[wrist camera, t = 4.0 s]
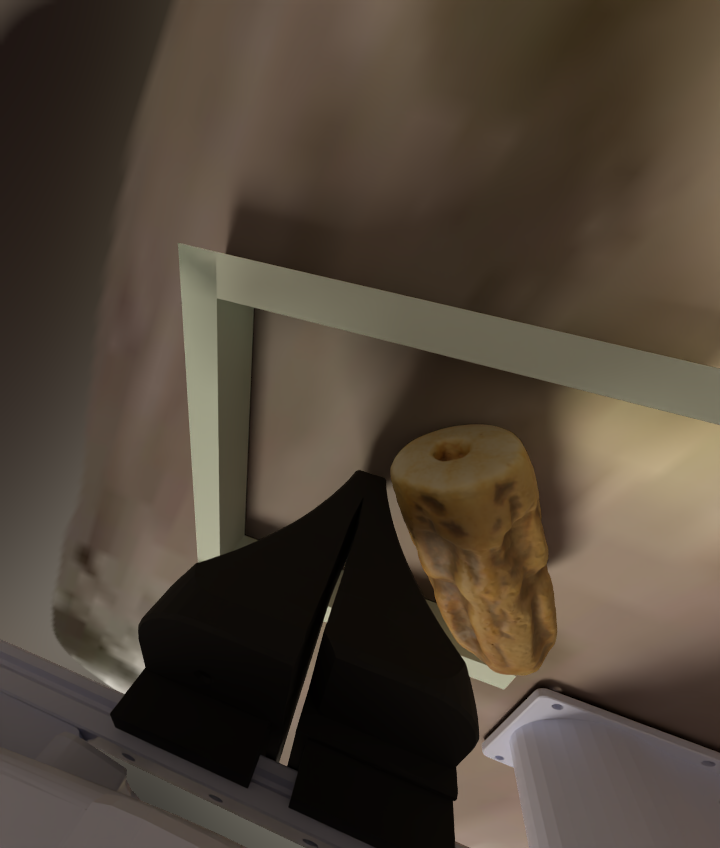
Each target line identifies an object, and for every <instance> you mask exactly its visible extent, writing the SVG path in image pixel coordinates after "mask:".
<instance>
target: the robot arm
mask: <svg viewBox="0 0 720 848" xmlns="http://www.w3.org/2000/svg"><path fill="white" fill-rule="evenodd" d="M346 559H347V560H346ZM345 562H346V565H345V569H344V572H343V575H342V578H341V581H340V584H339V587H338V591H337V594H336V597H335V600H334V603H333V606H332V609H331V612H330V615H329V618H328V621H327V624H326V627H325V630H324V633H323V637H322V641H321V644H320V648H319V652H318V656H317V660H316V664H315V667H314V671H313V675H312V679H311V683H310V686H309V690H308V693H307V696H306V700H305V703H304V706H303V709H302V713H301V716H300V719H299V722H298V726H297V729H296V734H295V738H294V742H293V746H292V750H291V754H290V758H289V762H288V765H287V766H285V765H282V764H280V763H279V761H280V758H281V754H282V751H283V748H284V745H285V741H286V738H287V735H288V732H289V729H290V725H291V722H292V719H293V716H294V713H295V709H296V706H297V703H298V700H299V697H300V693H301V690H302V687H303V684H304V681H305V678H306V674H307V671H308V668H309V665H310V662H311V658H312V655H313V652H314V649H315V646H316V643H317V639H318V636H319V633H320V630H321V627H322V624H323V621H324V617H325V614H326V611H327V608H328V605H329V602H330V599H331V596H332V594H333V591H334V588H335V586H336V583H337V581H338V578H339V576H340V574H341V571H342V569H343V566H344V564H345ZM138 635H139V642H140V646H141V651H142V655H143V659H144V663H145V667H146V668H145V669H144V670H143V672H142V673H141V674H140V675H139V677H138V678H137V679H136V681H135V682H134V683H133V684H132V686H131V687H130V688H129V690H128V691H127V692H126V693H125V694H123V693H120V692H118V691H116V690H114V689H111V688H109V687H107V686H105V685H102V684H100V683H98V682H96V681H93V680H91V679H89V678H86V677H84V676H82V675H80V674H77V673H75V672H73V671H71V670H68V669H66V668H64V667H62V666H60V665H58V664H55V663H53V662H51V661H48V660H46V659H44V658H42V657H40V656H37V655H35V654H33V653H31V652H28V651H26V650H24V649H22V648H19V647H17V646H15V645H13V644H10V643H8V642H6V641H3V640H1V639H0V848H246V847H244V846H242V845H240V844H238V843H236V842H234V841H232V840H230V839H228V838H226V837H224V836H222V835H219V834H217V833H215V832H213V831H211V830H208V829H206V828H204V827H202V826H200V825H197V824H195V823H193V822H190V821H188V820H186V819H183V818H182V817H179V816H177V815H175V814H172V813H170V812H167V811H165V810H163V809H160V808H158V807H155V806H153V805H150V804H148V803H145V802H143V801H141V800H140V799H139V798H138V797H137V796H136V794H135V793H134V792H133V791H132V790H131V788H130V786H129V784H128V782H127V780H126V775H127V770H126V768H124V767H123V766H121V765H120V764H118V763H117V762H115V761H114V760H112V759H111V758H110V757H108V756H107V755H105V754H104V753H102V752H101V751H99V750H102V751H104V752H106V753H108V754H110V755H112V756H114V757H116V758H118V759H121V760H122V761H125V762H127V763H129V764H131V765H133V766H135V767H137V768H139V769H142V770H143V771H146V772H148V773H150V774H152V775H154V776H156V777H158V778H160V779H162V780H165V781H167V782H169V783H171V784H173V785H175V786H177V787H179V788H181V789H183V790H185V791H188V792H190V793H192V794H194V795H196V796H198V797H200V798H202V799H204V800H207V801H209V802H211V803H213V804H215V805H217V806H219V807H221V808H223V809H225V810H227V811H230V812H232V813H234V814H236V815H238V816H240V817H242V818H244V819H246V820H248V821H251V822H253V823H255V824H257V825H259V826H261V827H263V828H265V829H267V830H269V831H272V832H274V833H276V834H278V835H280V836H282V837H284V838H286V839H288V840H291V841H293V842H295V843H297V844H299V845H301V846H303V847H305V848H469V847H467V846H464V845H462V844H460V843H458V842H455V833H454V814H453V801H455V800H456V799H457V794H458V788H457V772H456V766H457V765H458V764H459V763H460V762H461V761H462V760H463V759H464V758H465V757H466V756H467V755H468V754H469V753H470V752H471V751H472V750H473V749H474V747H475V746H476V744H477V742H478V740H479V726H478V716H477V709H476V704H475V699H474V694H473V690H472V685H471V681H470V677H469V673H468V669H467V665H466V663H465V661H464V660H463V658H462V657H461V655H460V654H459V652H458V651H457V649H456V648H455V646H454V645H453V643H452V642H451V641H450V639H449V638H448V636H447V635H446V633H445V632H444V630H443V629H442V627H441V625H440V624H439V622H438V620H437V619H436V617H435V615H434V614H433V612H432V610H431V609H430V607H429V605H428V603H427V601H426V600H425V598H424V596H423V594H422V592H421V590H420V588H419V586H418V584H417V582H416V581H415V579H414V577H413V574H412V572H411V570H410V568H409V566H408V563H407V561H406V559H405V556H404V554H403V551H402V549H401V546H400V543H399V540H398V537H397V534H396V531H395V528H394V524H393V521H392V517H391V513H390V508H389V503H388V498H387V490H386V479H385V478H384V477H380V476H377V475H374V474H371V473H367V472H364V471H361V470H358V471H356V472H355V473H354V474H353V475H352V477H351V478H350V479H349V480H348V481H347V482H346V483H345V484H344V485H343V486H342V487H341V488H340V489H338V490H337V491H336V492H335V493H334V494H333V495H332V496H331V497H329V498H328V499H327V500H325V501H324V502H323V503H322V504H320V505H319V506H318V507H316V508H315V509H314V510H312V511H311V512H309V513H308V514H306V515H305V516H303V517H302V518H300V519H298V520H297V521H295V522H293V523H292V524H290V525H288V526H286V527H284V528H282V529H281V530H279V531H277V532H275V533H273V534H271V535H269V536H267V537H265V538H262V539H260V540H258V541H255V542H253V543H251V544H249V545H246V546H244V547H242V548H239V549H237V550H234V551H231V552H228V553H226V554H223V555H220V556H217V557H214V558H211V559H208V560H205V561H202V562H199V563H196V564H195V565H194V566H193V567H191V568H190V569H189V570H188V571H187V572H186V573H185V574H184V575H183V576H181V577H180V578H179V579H178V580H177V581H176V582H175V583H174V584H173V585H172V586H171V587H170V588H169V589H168V590H167V591H166V593H165V594H164V595H163V596H162V597H161V598H160V599H159V600H158V601H157V602H156V604H155V605H154V606H153V607H152V608H151V609H150V610H149V611H148V612H147V613H146V615H145V616H144V617H143V618H142V620H141V622H140V623H139V626H138ZM96 748H97V749H96ZM98 749H99V750H98ZM482 751H483V754H484V755H485V756H487V757H489V758H491V759H494V760H496V761H499V762H501V763H504V764H506V765H508V766H511V767H513V768H514V771H515V776H516V781H517V787H518V792H519V797H520V802H521V808H522V813H523V818H524V824H525V829H526V834H527V839H528V845H529V848H720V753H719V752H716V751H714V750H711V749H708V748H706V747H703V746H700V745H697V744H695V743H692V742H689V741H687V740H684V739H681V738H679V737H676V736H673V735H671V734H668V733H665V732H662V731H660V730H657V729H654V728H652V727H649V726H646V725H644V724H641V723H638V722H636V721H633V720H630V719H627V718H625V717H622V716H619V715H617V714H614V713H611V712H609V711H606V710H603V709H601V708H598V707H595V706H593V705H590V704H587V703H584V702H582V701H579V700H576V699H574V698H571V697H568V696H566V695H563V694H560V693H558V692H555V691H552V690H549V689H546V688H539V689H536V690H535V691H534V692H533V693H532V694H531V695H530V696H529V697H528V698H527V699H526V700H525V701H524V702H523V703H522V704H521V705H520V706H519V707H518V708H517V709H516V710H515V711H514V712H513V713H512V714H511V715H510V716H509V717H508V718H507V719H506V720H505V721H504V722H503V723H502V724H501V725H500V726H499V727H498V728H497V729H496V730H495V731H494V732H493V733H492V734H491V735H490V736H489V737H488V738H487V739H486V740H485V741H484V742H483V743H482Z"/></svg>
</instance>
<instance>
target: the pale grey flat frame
mask: <svg viewBox="0 0 720 848" xmlns="http://www.w3.org/2000/svg"><path fill="white" fill-rule="evenodd" d="M178 249H179V265H180V281H181V297H182V313H183V329H184V345H185V361H186V377H187V393H188V409H189V425H190V441H191V457H192V473H193V489H194V506H195V522H196V538H197V554H198V563H199V562H202V561H205V560H208V559H211V558H214V557H217V556H220V555H223V554H226V553H228V552H231V551H234V550H237V549H239V548H242V547H244V546H246V545H249V544H251V543H253V542H255V541H258V540H256V539H253V538H251V537H248V536H245V511H246V487H247V463H248V439H249V414H250V390H251V366H252V342H253V318H254V308H258V309H262V310H266V311H270V312H274V313H278V314H282V315H286V316H290V317H294V318H298V319H302V320H306V321H309V322H313V323H317V324H321V325H325V326H329V327H333V328H337V329H341V330H345V331H349V332H353V333H357V334H361V335H365V336H369V337H373V338H377V339H381V340H385V341H389V342H393V343H397V344H401V345H405V346H409V347H413V348H416V349H420V350H424V351H428V352H432V353H436V354H440V355H444V356H448V357H452V358H456V359H460V360H464V361H468V362H472V363H476V364H480V365H484V366H488V367H492V368H496V369H500V370H504V371H508V372H512V373H516V374H520V375H523V376H527V377H531V378H535V379H539V380H543V381H547V382H551V383H555V384H559V385H563V386H567V387H571V388H575V389H579V390H583V391H587V392H591V393H595V394H599V395H603V396H607V397H611V398H615V399H619V400H623V401H626V402H630V403H634V404H638V405H642V406H646V407H650V408H654V409H658V410H662V411H666V412H670V413H674V414H678V415H682V416H686V417H690V418H694V419H698V420H702V421H706V422H710V423H714V424H718V425H720V368H715V367H711V366H707V365H702V364H698V363H694V362H689V361H685V360H681V359H676V358H672V357H668V356H663V355H659V354H655V353H650V352H646V351H642V350H638V349H633V348H629V347H625V346H620V345H616V344H612V343H607V342H603V341H599V340H594V339H590V338H586V337H581V336H577V335H573V334H569V333H564V332H560V331H556V330H551V329H547V328H543V327H538V326H534V325H530V324H525V323H521V322H517V321H512V320H508V319H504V318H500V317H495V316H491V315H487V314H482V313H478V312H474V311H469V310H465V309H461V308H456V307H452V306H448V305H443V304H439V303H435V302H430V301H426V300H422V299H418V298H413V297H409V296H405V295H400V294H396V293H392V292H387V291H383V290H379V289H374V288H370V287H366V286H361V285H357V284H353V283H349V282H344V281H340V280H336V279H331V278H327V277H323V276H318V275H314V274H310V273H305V272H301V271H297V270H292V269H288V268H284V267H280V266H275V265H271V264H267V263H262V262H258V261H254V260H249V259H245V258H241V257H236V256H232V255H228V254H223V253H219V252H215V251H211V250H206V249H202V248H198V247H193V246H189V245H185V244H180V243H178ZM343 572H344V570H342V571H341V574H340V576H339V578H338V581H337V583H336V586H335V588H334V591H333V594H332V596H331V599H330V602H329V605H328V608H327V611H326V614H325V617H324V622H327V621H328V618H329V615H330V612H331V609H332V606H333V603H334V600H335V597H336V594H337V591H338V587H339V584H340V581H341V578H342V575H343ZM425 600H426V599H425ZM426 601H427V603H428V605H429V607H430V609H431V610H432V612H433V614H434V615H435V617H436V619H437V620H438V622H439V624H440V625H441V627H442V629H443V630H444V632H445V633H446V635H447V636H448V638H449V639H450V641H451V642H452V643H453V645H454V646H455V648H456V649H457V651H458V652H459V654H460V655H461V657H462V658H463V660H464V661H465V663H466V665H467V669H468V673H469V677H472V678H475V679H477V680H480V681H483V682H485V683H488V684H491V685H493V686H496V687H499V688H501V689H505V688H506V687H507V686H508V685H509V684H510V682H511V681H512V680H513V679H514V678H515V677H516V675H504V674H499V673H496V672H494V671H492V670H491V669H490V668H489V667H488V666H487V665H486V664H485V663H484V662H483V661H481V660H480V659H479V658H478V657H477V656H476V655H474V654H473V653H471V652H469V651H468V650H466V649H465V648H463V647H462V646H461V645H460V644H459V643H458V642H457V641H456V639H455V638H454V637H453V635H452V633H451V631H450V630H449V628H448V626H447V624H446V622H445V621H444V619H443V617H442V614H441V612H440V610H439V607H438V605H437V603H434V602H432V601H429V600H426Z"/></svg>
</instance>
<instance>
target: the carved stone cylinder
mask: <svg viewBox="0 0 720 848" xmlns="http://www.w3.org/2000/svg"><path fill="white" fill-rule="evenodd" d="M390 474H391V482H392V484H393V488H394V491H395V494H396V498H397V502H398V505H399V507H400V510H401V513H402V516H403V519H404V521H405V523H406V526H407V528H408V530H409V534H410V536H411V539H412V541H413V543H414V545H415V546H416V548H417V550H418V556H419V560H420V562H421V565H422V567H423V570H424V571H425V573H426V574H427V575H428V577H429V580H430V582H431V585H432V586H433V589H434V594H435V599H436V602H437V605H438V607H439V610H440V612H441V614H442V617H443V619H444V621H445V622H446V624H447V626H448V628H449V630H450V631H451V633H452V635H453V637H454V638H455V639H456V641H457V642H458V643H459V644H460V645H461V646H462V647H463V648H465V649H466V650H468V651H469V652H471V653H473V654H474V655H476V656H477V657H478V658H479V659H480V660H481V661H483V662H484V663H485V664H486V665H487V666H488V667H489V668H490V669H491V670H492V671H494V672H496V673H499V674H504V675H528V674H531V673H534V672H536V671H538V670H539V668H540V667H541V665H542V663H543V661H544V659H545V657H546V656H547V654H548V652H549V651H550V649H551V648H552V647H553V646H554V644H555V641H556V637H557V622H556V620H557V619H556V608H555V602H554V591H553V585H552V582H551V578H550V575H549V573H548V570H547V565H546V563H547V560H548V546H547V543H546V539H545V535H544V530H543V526H542V523H541V508H540V503H539V491H538V487H537V481H536V476H535V473H534V468H533V466H532V464H531V461H530V458H529V456H528V453H527V451H526V449H525V447H524V446H523V444H522V442H521V440H519V439H518V437H517V436H516V435H515V434H513V433H512V432H510V431H508V430H505V429H503V428H500V427H496V426H492V425H486V424H468V425H459V426H453V427H448V428H444V429H440V430H437V431H434V432H431V433H428V434H426V435H423V436H421V437H419V438H417V439H415V440H413V441H411V442H410V443H409V444H407V445H406V446H405V447H404V448H403V449H402V450H401V451H400V452H399V453H398V454H397V456H396V457H395V459H394V461H393V463H392V466H391V469H390Z"/></svg>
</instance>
